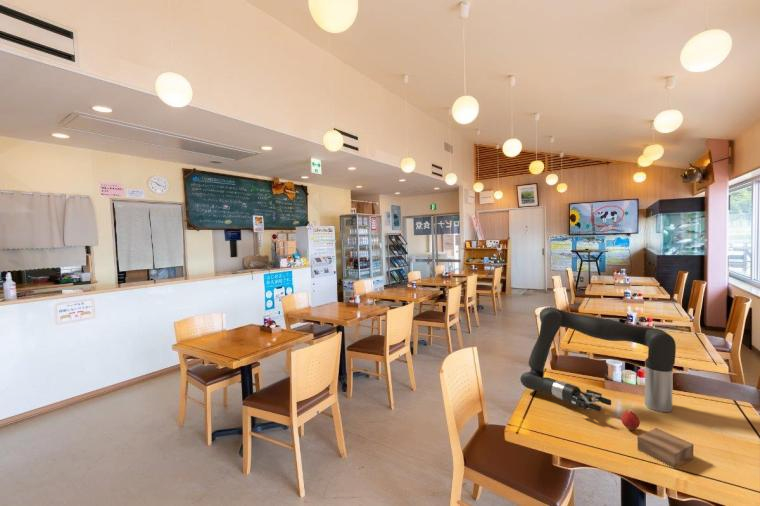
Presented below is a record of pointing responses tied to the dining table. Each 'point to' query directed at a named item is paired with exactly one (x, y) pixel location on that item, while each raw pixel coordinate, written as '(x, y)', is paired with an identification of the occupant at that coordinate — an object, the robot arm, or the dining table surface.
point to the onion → (630, 420)
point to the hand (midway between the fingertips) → (605, 406)
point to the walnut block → (665, 447)
